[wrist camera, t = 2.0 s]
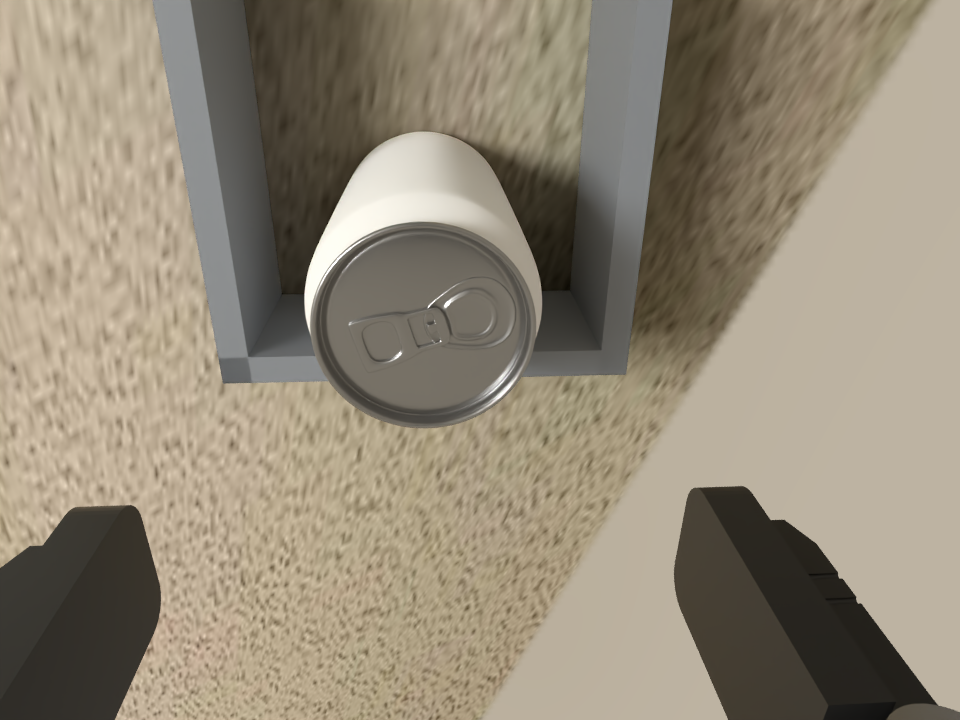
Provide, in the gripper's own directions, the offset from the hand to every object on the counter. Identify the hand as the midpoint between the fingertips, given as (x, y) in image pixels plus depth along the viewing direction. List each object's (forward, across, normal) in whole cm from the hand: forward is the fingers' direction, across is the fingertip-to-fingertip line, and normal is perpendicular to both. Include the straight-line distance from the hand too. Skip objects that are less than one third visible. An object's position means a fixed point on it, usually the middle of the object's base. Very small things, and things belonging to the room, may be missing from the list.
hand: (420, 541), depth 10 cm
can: (+20, 0, 0) cm, 20 cm away
